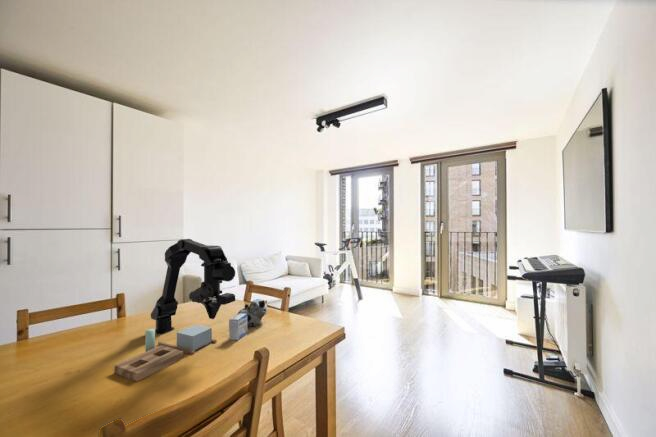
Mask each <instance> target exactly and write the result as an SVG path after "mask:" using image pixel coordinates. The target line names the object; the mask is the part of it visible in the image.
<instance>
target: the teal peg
mask: <svg viewBox="0 0 656 437" xmlns="http://www.w3.org/2000/svg"><path fill="white" fill-rule="evenodd" d="M155 329H156V328H148V329H146V330H145V333H144V334H145V337H144V338H145V339H144V340H145V341H144V342H145V343H144V345H145V349H144V351H145V352H147V351H149V350H151V349H154V348H156V332H155Z"/></svg>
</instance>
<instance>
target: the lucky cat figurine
mask: <svg viewBox="0 0 656 437" xmlns="http://www.w3.org/2000/svg"><path fill="white" fill-rule="evenodd" d="M267 310H268V300H264V299H261V298H257V299H253V300H252V301H251V302H250V305H249V304H248V303H245V304H244V307H243V308H242V309H240V310H238V312H237V314H240V313H242V314H247V326H248V327H249V326H251V327H253V328H254V327H256V326H259V325H261V323H262V319H263V317H264V316H265V315H266V314H267Z"/></svg>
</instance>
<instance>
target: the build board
mask: <svg viewBox="0 0 656 437" xmlns="http://www.w3.org/2000/svg"><path fill="white" fill-rule="evenodd" d="M182 359H184V352H183V351H181V350H177V349H173V348H170V347H166V346H163V345H161V346H160V345H157V346H155V348H154V349H151V350H149V351H147V352H143V353H140V354H138V355H136V356H133V357H130V358H129V359H126V360H124V361H121V362H119V363H117V364H115V365H114V369H113V370H114V374H116V375H119V376H121V377H124V378H127V379H129V380H132V381H134V382H140V381H142V380H144V379H145V378H147V377H148V376H151V375H153V374H154V373H156V372H158V371H160V370H163V369H164V368H167V367H169V366H171V365H172V364H174V363H177V362H179V361H181V360H182Z"/></svg>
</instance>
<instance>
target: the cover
mask: <svg viewBox="0 0 656 437" xmlns="http://www.w3.org/2000/svg"><path fill="white" fill-rule="evenodd" d="M212 339H213V329H212V327H210V326H205V325H200V324H194V325H192V326H189V327H187V328H184V329H181V330H179V331H177V332H176V346H178V347H182V348H186V349H190V350H193V351H194V350H195V351H197V350H199V349H200V348H199V347H201V346H203V345H205V344H207V343H209V342H210V343H212V342H211V341H212ZM210 343H209V344H210ZM207 345H208V344H207ZM205 346H206V345H205ZM203 347H204V346H203ZM198 348H199V349H198ZM201 348H202V347H201ZM196 349H197V350H196Z"/></svg>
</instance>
